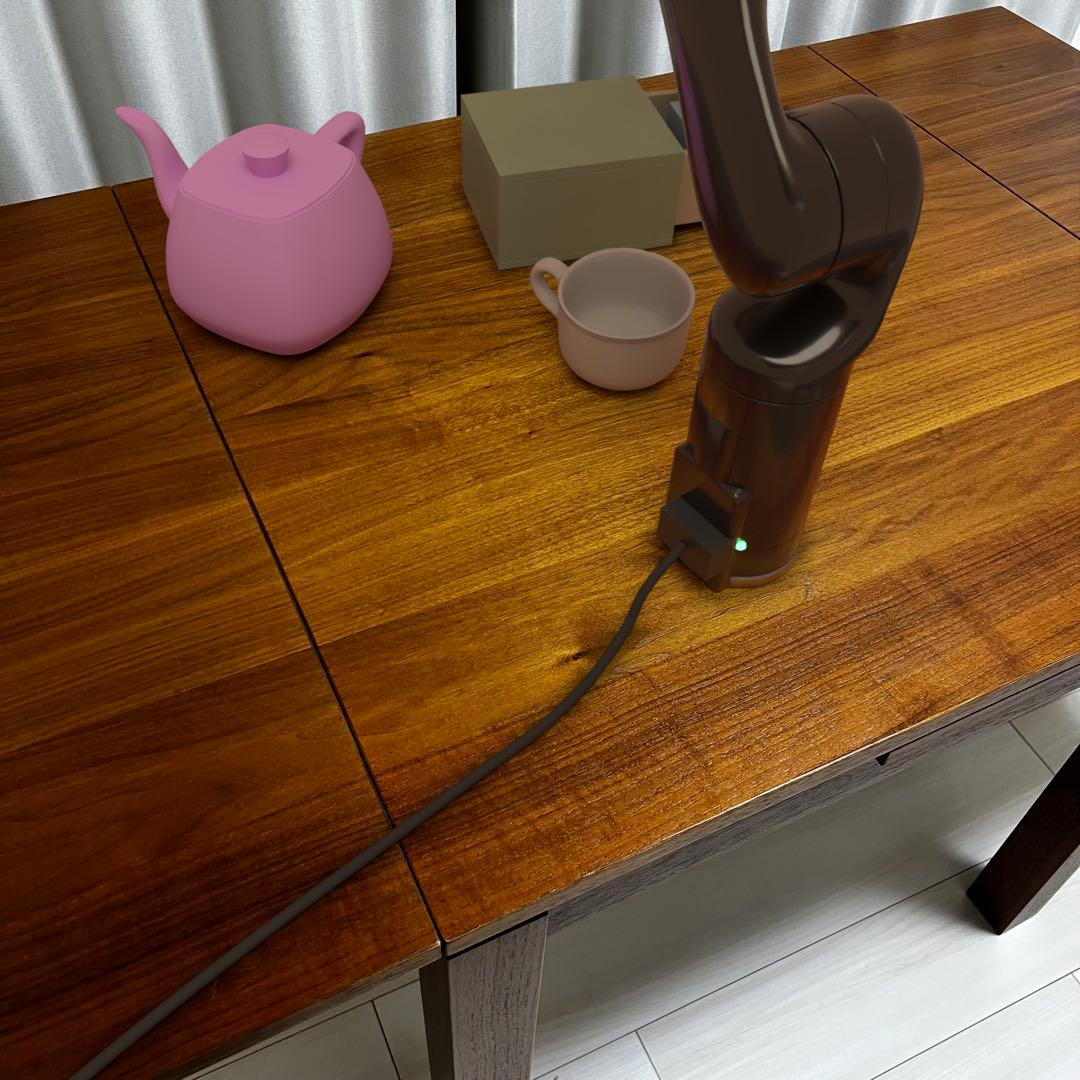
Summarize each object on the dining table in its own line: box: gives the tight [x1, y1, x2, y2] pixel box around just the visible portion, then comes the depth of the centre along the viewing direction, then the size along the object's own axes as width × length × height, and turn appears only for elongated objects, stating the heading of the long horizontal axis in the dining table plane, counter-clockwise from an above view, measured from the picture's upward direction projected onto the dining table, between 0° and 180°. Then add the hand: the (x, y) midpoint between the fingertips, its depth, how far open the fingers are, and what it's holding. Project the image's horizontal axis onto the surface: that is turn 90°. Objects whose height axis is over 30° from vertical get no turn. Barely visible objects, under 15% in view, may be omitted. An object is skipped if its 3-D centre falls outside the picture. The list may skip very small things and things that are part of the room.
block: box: [667, 101, 687, 150], centre depth 110 cm, size 5×5×5 cm
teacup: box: [529, 248, 696, 391], centre depth 96 cm, size 14×11×8 cm
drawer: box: [644, 88, 793, 226], centre depth 112 cm, size 20×12×8 cm, turn 106°
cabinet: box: [460, 74, 685, 271], centre depth 109 cm, size 17×14×10 cm
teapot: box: [115, 106, 394, 356], centre depth 99 cm, size 23×21×15 cm
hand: (705, 117), depth 109 cm, fingers open, 5 cm apart
